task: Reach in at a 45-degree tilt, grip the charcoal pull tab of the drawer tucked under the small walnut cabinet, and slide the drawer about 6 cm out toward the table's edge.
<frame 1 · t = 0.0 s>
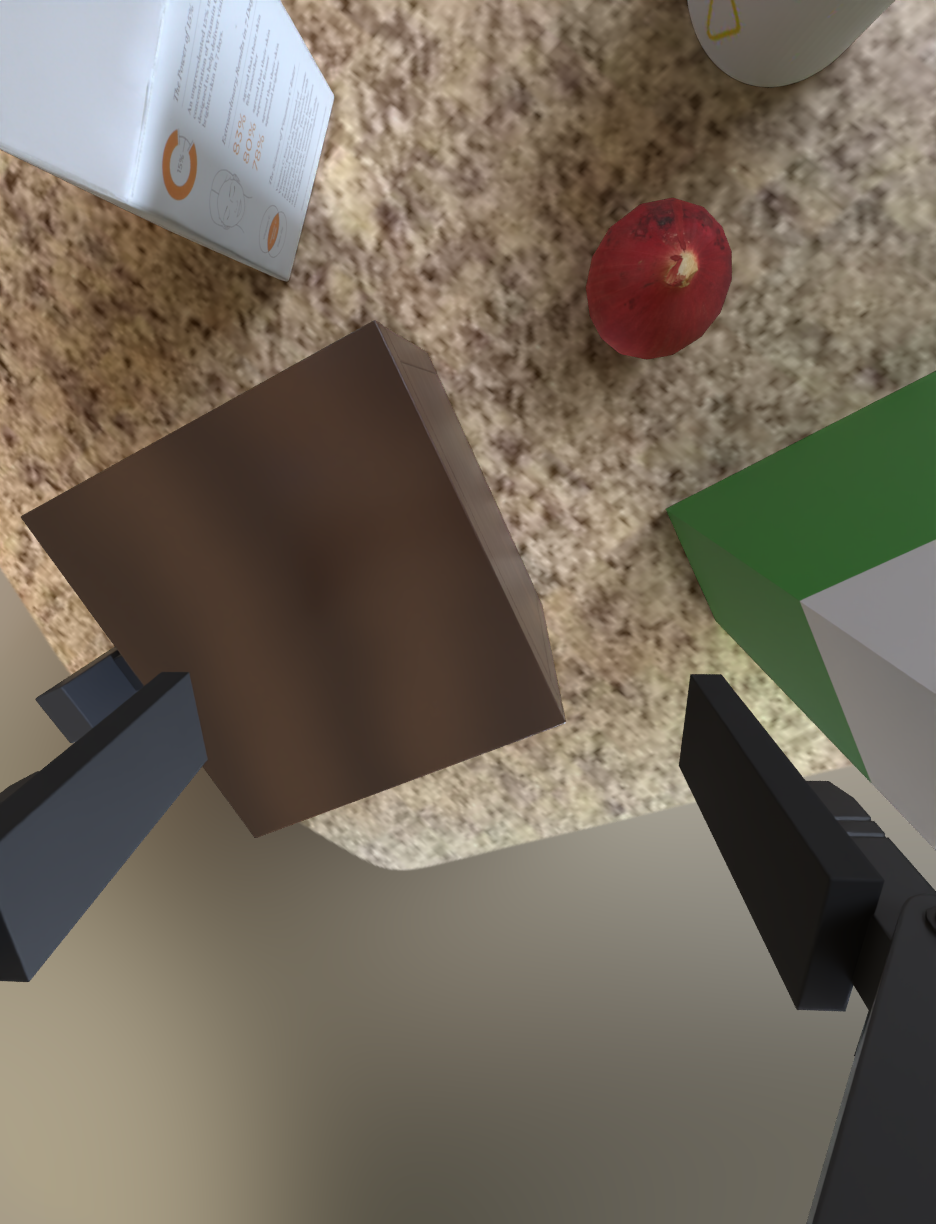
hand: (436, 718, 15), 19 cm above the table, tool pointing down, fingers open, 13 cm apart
green and white box: (848, 489, 31), on the table
cabinet: (376, 539, 33), on the table
small box: (249, 168, 27), on the table
onion: (635, 298, 28), on the table
drawer: (275, 601, 29), point 5 cm above the table, slide at 0.0 cm
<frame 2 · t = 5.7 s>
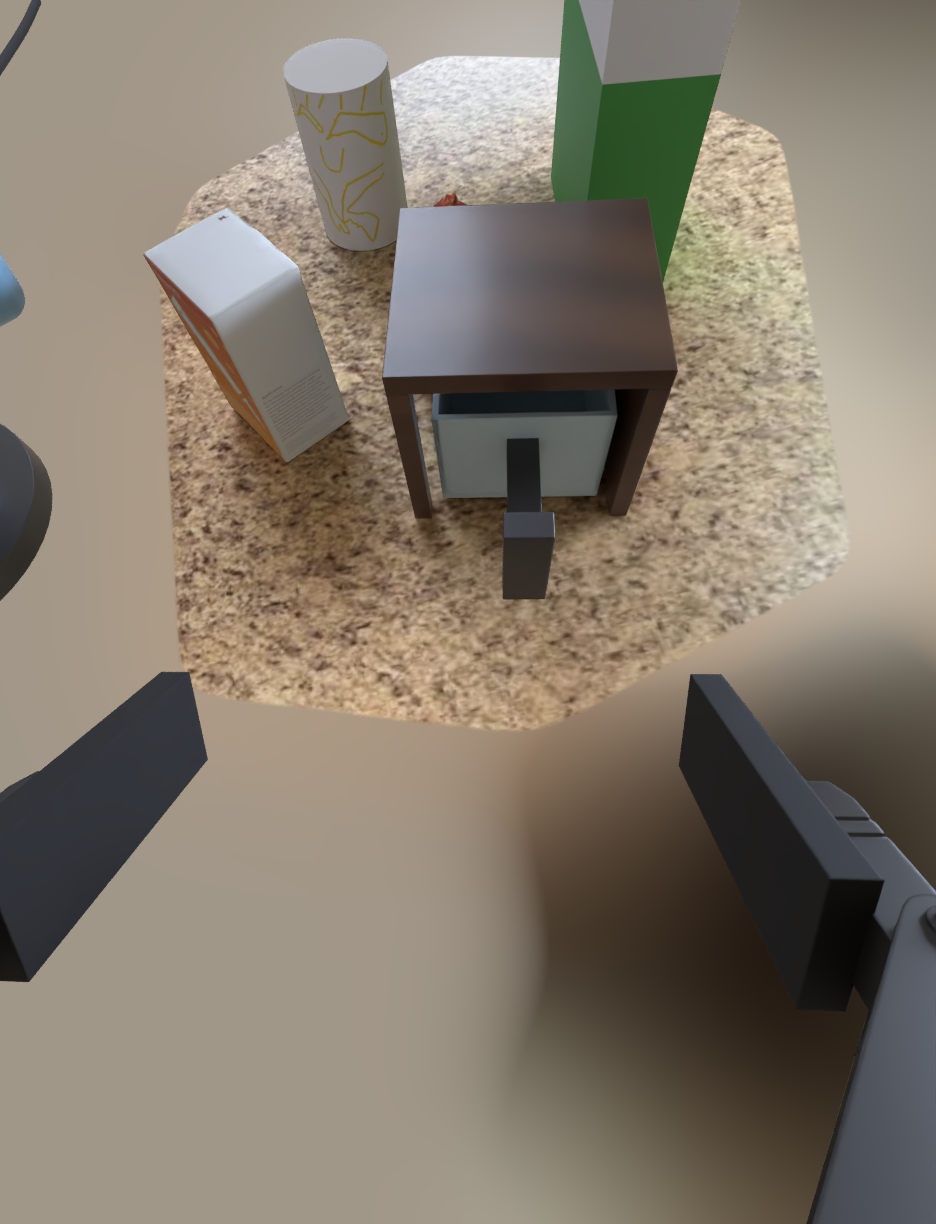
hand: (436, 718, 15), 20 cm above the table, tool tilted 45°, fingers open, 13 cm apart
green and white box: (601, 233, 54), on the table
cabinet: (517, 439, 44), on the table
small box: (291, 416, 46), on the table
drawer: (521, 442, 37), point 5 cm above the table, slide at 0.0 cm
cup: (367, 225, 56), on the table
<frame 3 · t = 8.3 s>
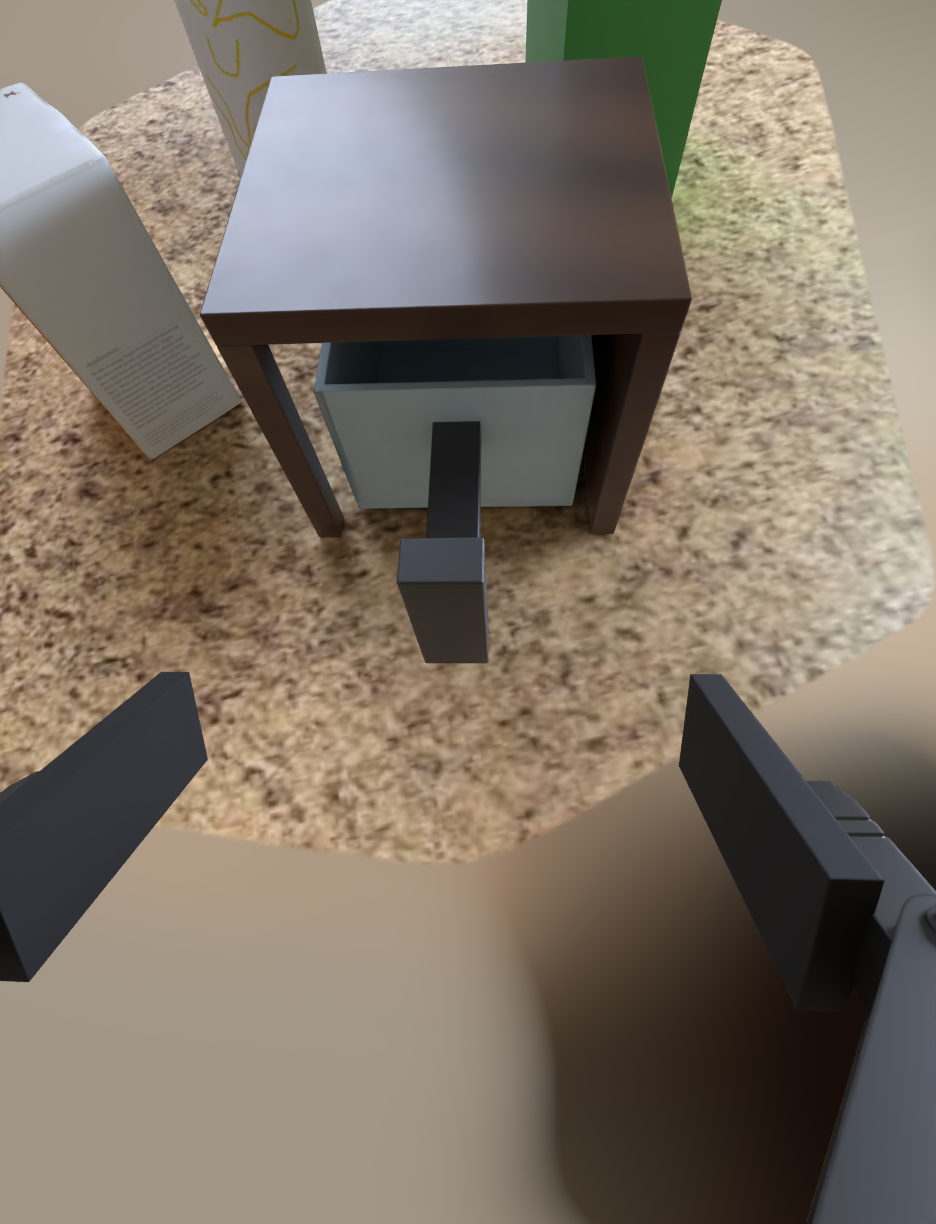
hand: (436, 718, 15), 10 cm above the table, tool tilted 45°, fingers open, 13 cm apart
green and white box: (586, 167, 42), on the table
cabinet: (467, 428, 32), on the table
small box: (166, 398, 35), on the table
drawer: (459, 429, 26), point 5 cm above the table, slide at 0.0 cm
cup: (291, 160, 44), on the table
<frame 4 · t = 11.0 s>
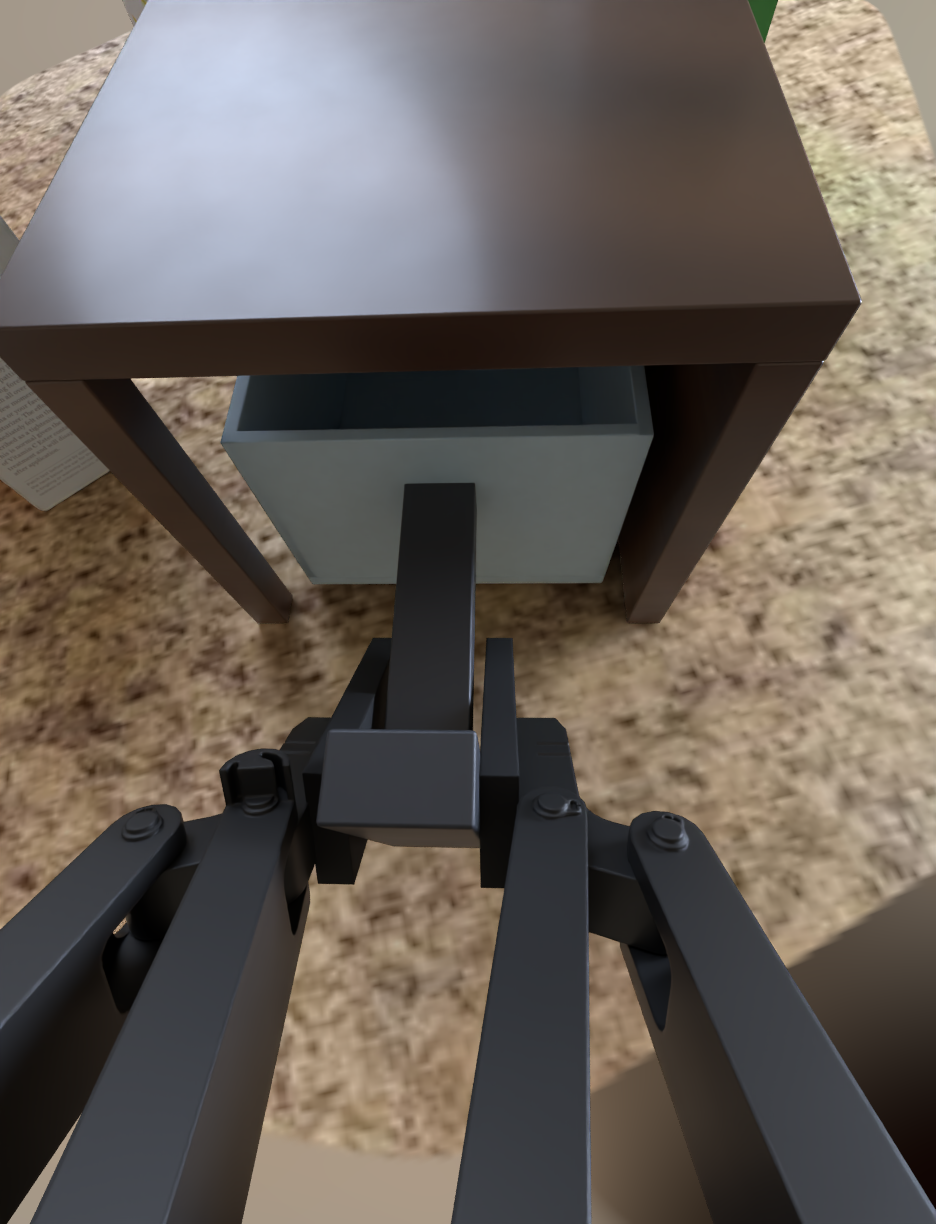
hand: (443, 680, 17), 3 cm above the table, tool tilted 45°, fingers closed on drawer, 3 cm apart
green and white box: (609, 138, 34), on the table
cabinet: (459, 471, 24), on the table
small box: (72, 428, 27), on the table
drawer: (444, 488, 18), point 5 cm above the table, slide at 0.0 cm, touching gripper
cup: (250, 132, 36), on the table
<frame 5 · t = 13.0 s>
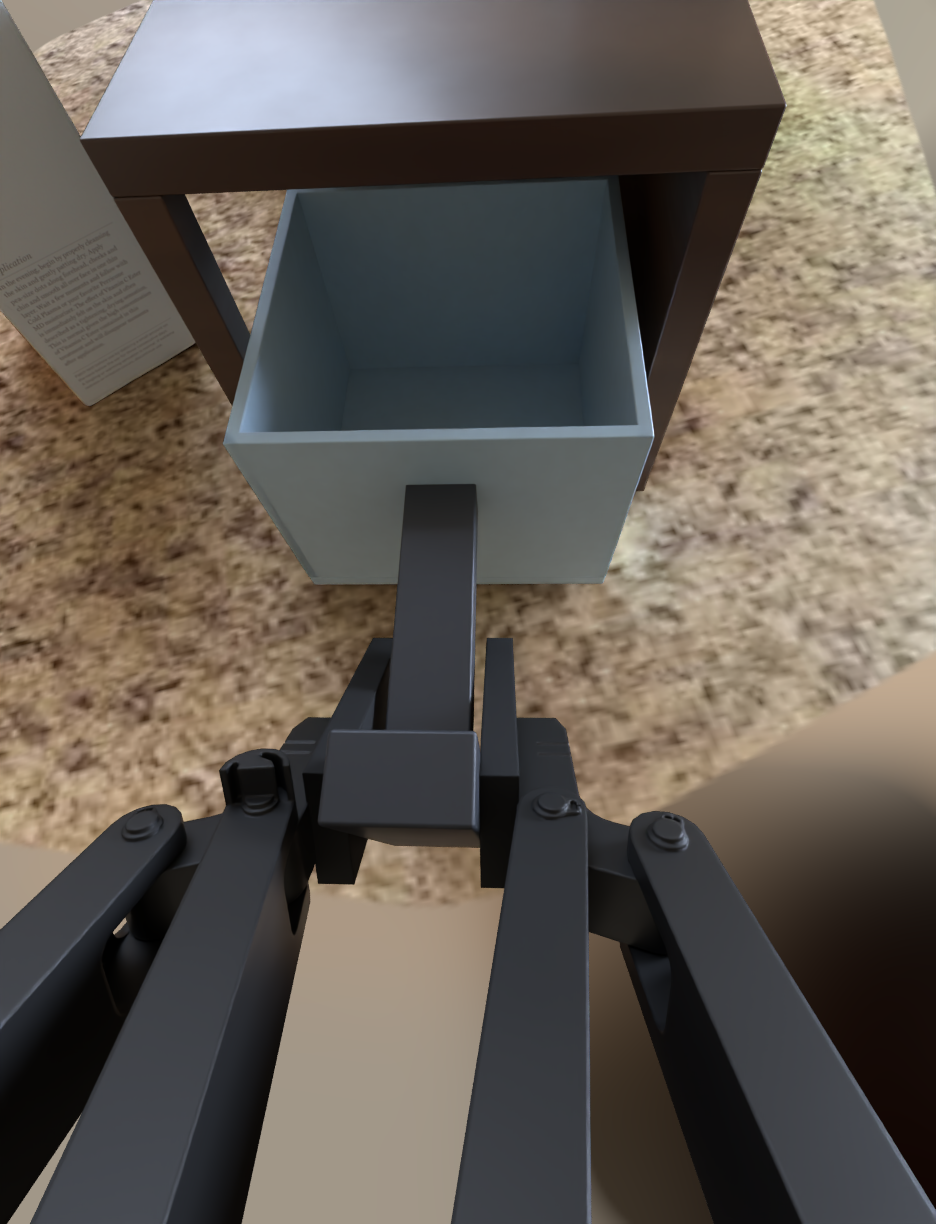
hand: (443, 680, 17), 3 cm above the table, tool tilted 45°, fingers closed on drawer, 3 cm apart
cabinet: (464, 369, 27), on the table
small box: (110, 338, 29), on the table
drawer: (446, 489, 18), point 5 cm above the table, slide at 5.9 cm, touching gripper
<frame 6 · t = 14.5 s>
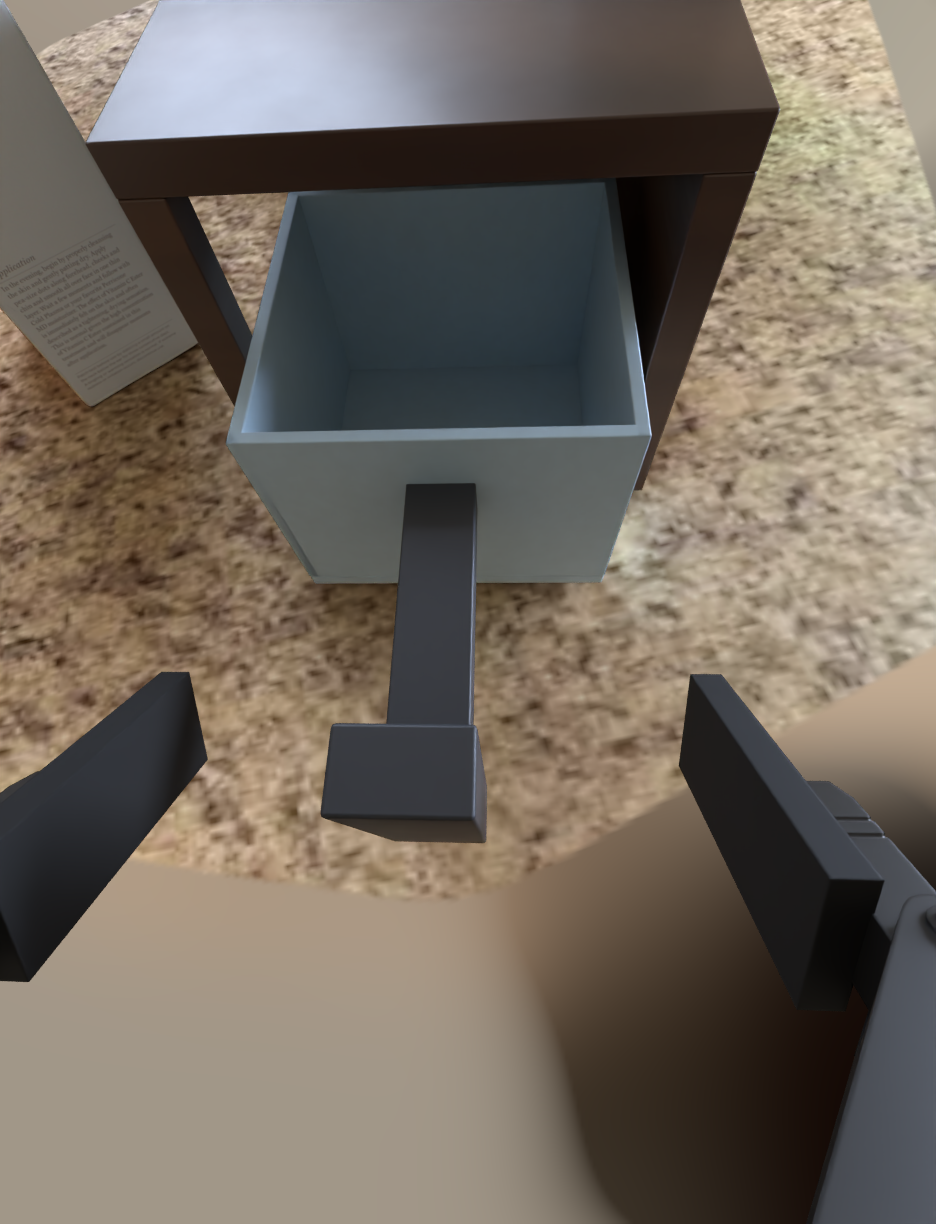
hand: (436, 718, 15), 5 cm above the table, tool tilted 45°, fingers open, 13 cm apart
cabinet: (464, 370, 27), on the table
small box: (112, 339, 29), on the table
drawer: (446, 489, 18), point 5 cm above the table, slide at 5.9 cm
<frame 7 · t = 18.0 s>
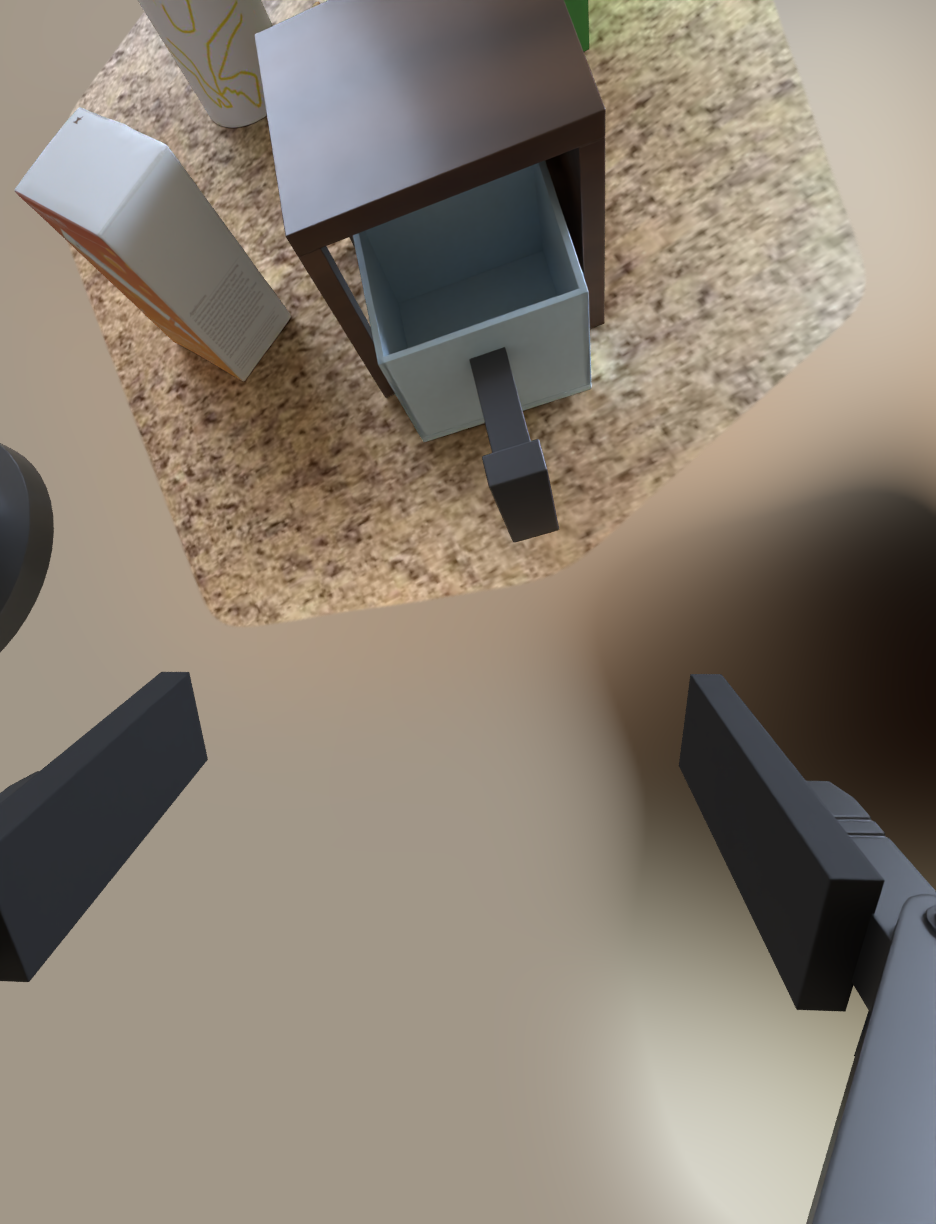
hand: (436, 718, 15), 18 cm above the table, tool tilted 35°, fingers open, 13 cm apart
green and white box: (506, 0, 45), on the table
cabinet: (469, 278, 40), on the table
small box: (234, 332, 44), on the table
drawer: (488, 356, 32), point 5 cm above the table, slide at 5.9 cm
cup: (250, 91, 49), on the table
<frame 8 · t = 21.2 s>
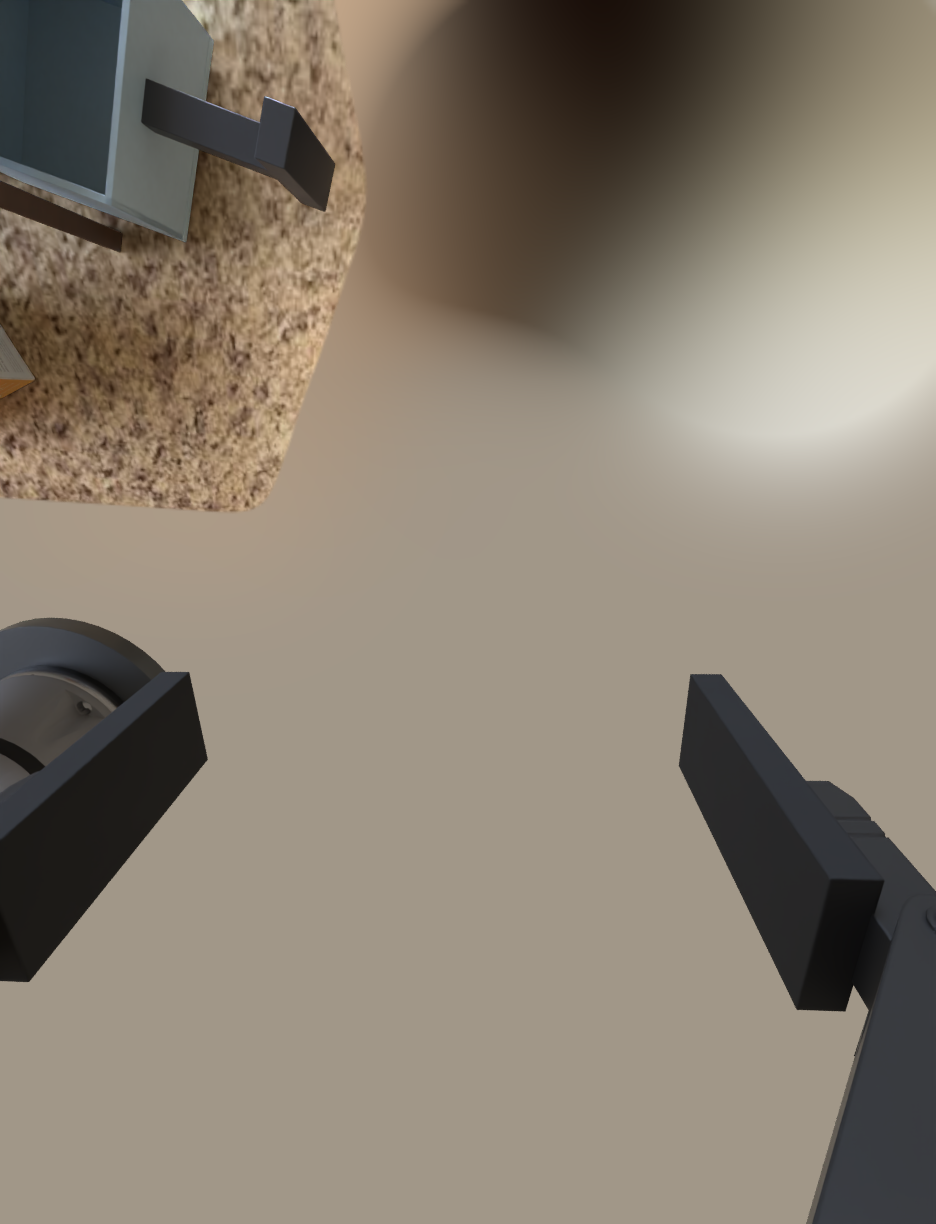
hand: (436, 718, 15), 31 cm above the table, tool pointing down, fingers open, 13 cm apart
cabinet: (23, 80, 36), on the table
drawer: (142, 106, 32), point 5 cm above the table, slide at 5.9 cm
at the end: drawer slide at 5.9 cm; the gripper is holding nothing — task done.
